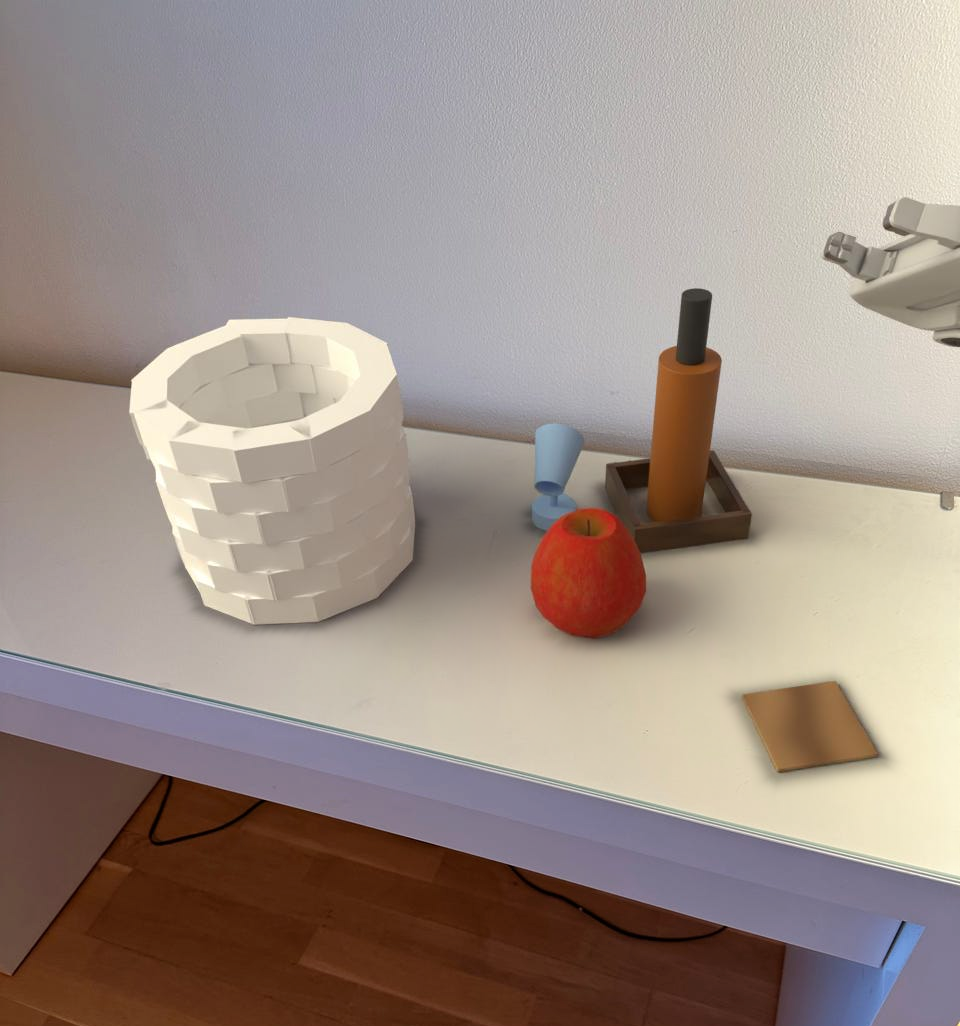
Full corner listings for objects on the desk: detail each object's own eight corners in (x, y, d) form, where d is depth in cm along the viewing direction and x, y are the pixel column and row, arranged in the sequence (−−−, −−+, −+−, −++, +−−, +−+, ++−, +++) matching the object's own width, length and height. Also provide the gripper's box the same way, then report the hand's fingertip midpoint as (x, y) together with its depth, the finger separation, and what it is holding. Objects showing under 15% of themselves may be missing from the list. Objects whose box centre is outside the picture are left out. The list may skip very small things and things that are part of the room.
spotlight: (538, 494, 102) (524, 533, 97) (537, 410, 95) (521, 448, 90) (584, 499, 101) (572, 538, 96) (586, 414, 94) (573, 453, 89)
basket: (413, 620, 88) (389, 442, 75) (157, 631, 89) (90, 457, 76) (423, 468, 107) (405, 304, 94) (211, 478, 107) (163, 317, 94)
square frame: (710, 473, 103) (713, 449, 101) (748, 538, 95) (752, 514, 92) (604, 487, 102) (605, 463, 100) (633, 554, 94) (635, 529, 92)
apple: (553, 566, 93) (553, 475, 86) (657, 588, 90) (666, 496, 83) (515, 634, 86) (512, 541, 79) (626, 661, 83) (633, 567, 76)
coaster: (834, 683, 80) (835, 680, 80) (877, 757, 74) (878, 753, 74) (741, 697, 79) (742, 694, 79) (777, 772, 74) (778, 769, 73)
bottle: (692, 493, 101) (718, 277, 85) (708, 524, 97) (739, 304, 81) (639, 500, 100) (656, 284, 84) (654, 532, 96) (674, 312, 80)
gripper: (1118, 311, 60) (919, 241, 58) (936, 349, 80) (784, 297, 78) (1158, 208, 59) (957, 133, 57) (963, 273, 79) (810, 219, 77)
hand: (856, 229), depth 67 cm, fingers open, 8 cm apart
